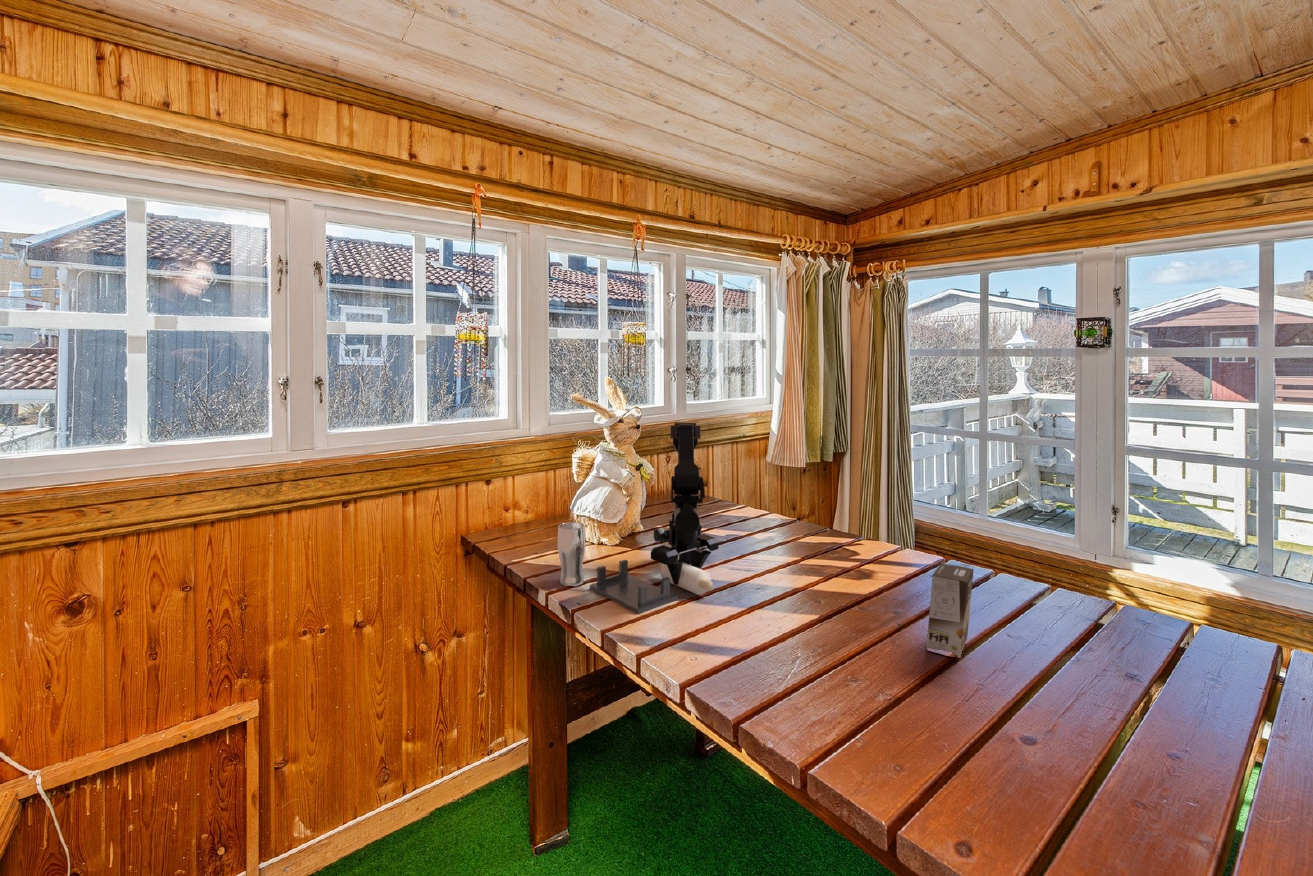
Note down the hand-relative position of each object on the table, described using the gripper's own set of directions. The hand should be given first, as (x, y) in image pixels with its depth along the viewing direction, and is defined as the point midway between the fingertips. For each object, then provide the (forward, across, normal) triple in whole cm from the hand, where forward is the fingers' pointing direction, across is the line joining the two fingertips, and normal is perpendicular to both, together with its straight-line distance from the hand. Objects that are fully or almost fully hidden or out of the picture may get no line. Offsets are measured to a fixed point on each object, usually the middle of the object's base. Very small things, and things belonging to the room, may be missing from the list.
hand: (684, 581), depth 153 cm
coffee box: (+2, -19, +57) cm, 60 cm away
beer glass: (+2, +20, -21) cm, 29 cm away
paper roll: (+2, 0, 0) cm, 2 cm away
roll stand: (+2, +13, -5) cm, 14 cm away
